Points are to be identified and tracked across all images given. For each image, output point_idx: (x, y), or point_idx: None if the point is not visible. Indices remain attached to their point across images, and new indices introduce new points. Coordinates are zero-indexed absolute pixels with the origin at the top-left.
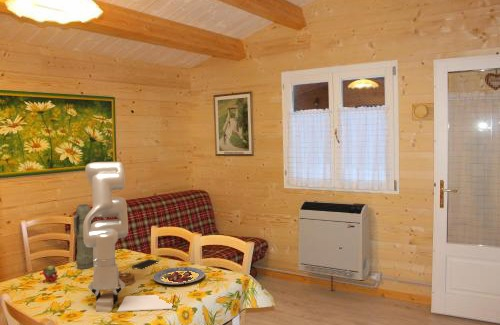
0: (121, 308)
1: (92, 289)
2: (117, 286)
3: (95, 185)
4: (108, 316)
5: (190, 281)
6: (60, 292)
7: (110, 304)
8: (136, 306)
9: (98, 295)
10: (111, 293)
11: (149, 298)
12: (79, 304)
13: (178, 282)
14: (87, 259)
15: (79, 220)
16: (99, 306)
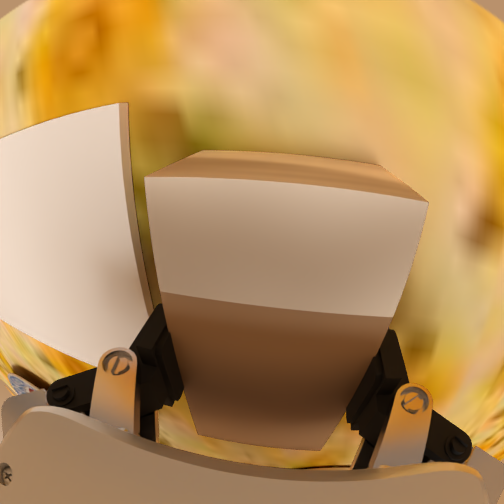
0: (99, 166)
1: (463, 460)
2: (19, 422)
3: None
4: (199, 5)
5: (10, 375)
6: (482, 435)
7: (177, 166)
8: (27, 200)
9: (382, 390)
10: (234, 417)
11: (32, 309)
12: (480, 348)
13: (34, 390)
14: None
15: None
16: (352, 172)
